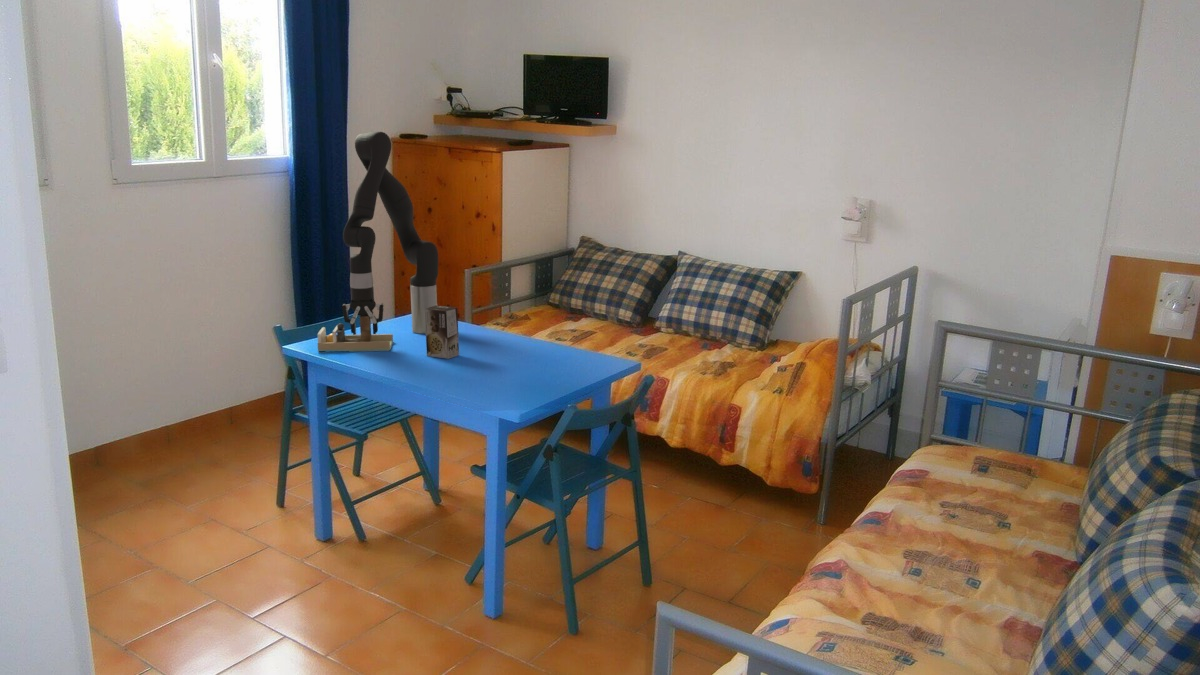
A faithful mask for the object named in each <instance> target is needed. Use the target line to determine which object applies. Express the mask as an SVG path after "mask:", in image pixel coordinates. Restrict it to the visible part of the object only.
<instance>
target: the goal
mask: <svg viewBox="0 0 1200 675" xmlns="http://www.w3.org/2000/svg"><path fill="white" fill-rule="evenodd" d="M338 330H339V329H338V327H337V325H336V326H335V327H334V329H333V330H332V333H333V343H336V342H337V337H336V334H337V331H338ZM326 335H327V331H326V327H324V326H323V327H321V329H320V330H319V331H318V333H317V334H316V336H317V337H316V338H317V344H318V343H326Z"/></svg>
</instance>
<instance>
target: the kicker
mask: <svg viewBox="0 0 1200 675" xmlns="http://www.w3.org/2000/svg"><path fill="white" fill-rule="evenodd" d="M371 322H372V320H371V318H370V317H369V315H361V316H359V330H360V331H359V332H360V335H361V339H345V335H346V333H345V332H346V331H345V325H344V323H342V322H340V323H338V324H337V325H336V326H337V327H338V329H339V330H338V331H337V333H336V334H337V336H338V342H371V340H372V339H371V334H372V325H371Z"/></svg>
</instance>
